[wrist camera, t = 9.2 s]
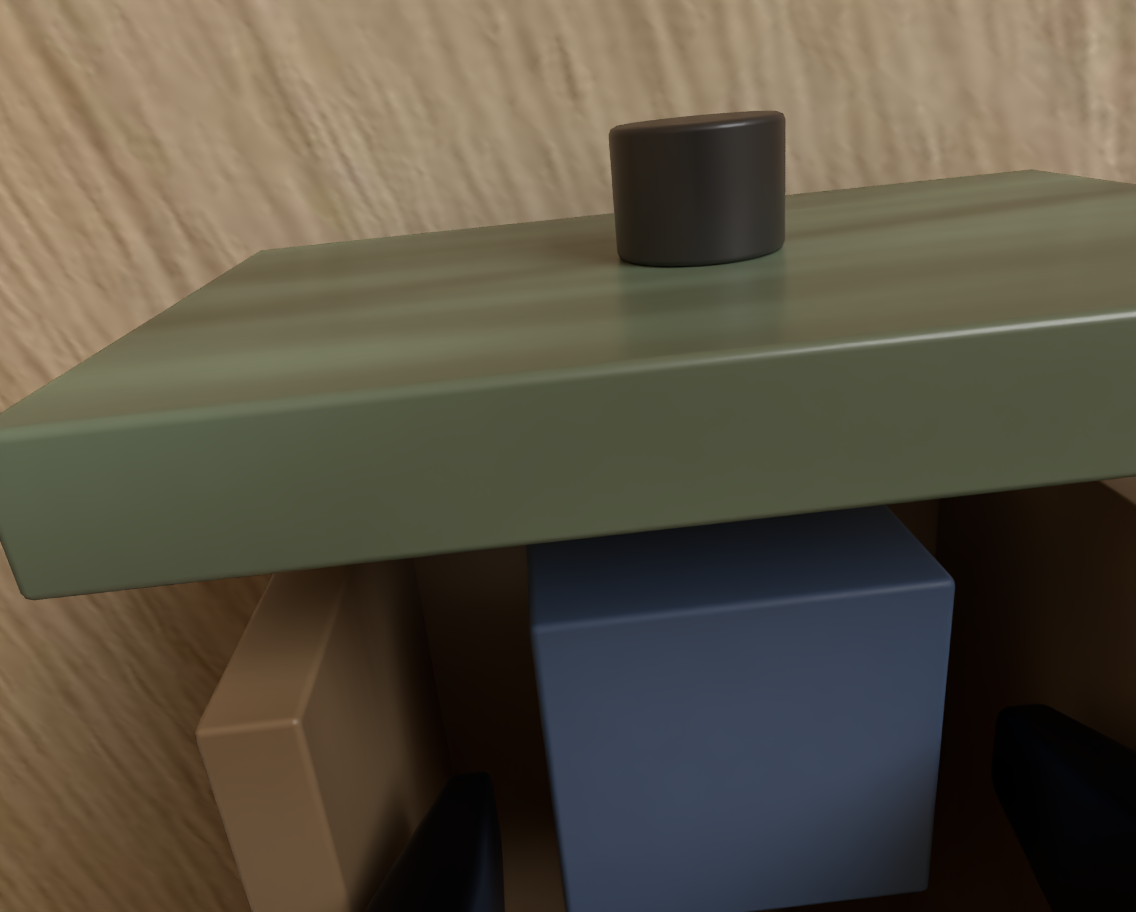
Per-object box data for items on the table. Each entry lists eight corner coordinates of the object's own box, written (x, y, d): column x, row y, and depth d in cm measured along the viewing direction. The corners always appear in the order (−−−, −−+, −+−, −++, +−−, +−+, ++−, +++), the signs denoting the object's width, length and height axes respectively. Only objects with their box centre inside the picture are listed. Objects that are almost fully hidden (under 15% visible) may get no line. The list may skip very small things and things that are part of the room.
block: (552, 702, 13) (568, 938, 10) (522, 459, 12) (527, 629, 8) (814, 671, 13) (930, 893, 10) (818, 427, 12) (959, 579, 8)
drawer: (234, 153, 11) (-129, 234, 5) (1045, 70, 11) (1718, 40, 5) (419, 963, 17) (364, 1486, 10) (956, 898, 17) (1219, 1372, 11)
